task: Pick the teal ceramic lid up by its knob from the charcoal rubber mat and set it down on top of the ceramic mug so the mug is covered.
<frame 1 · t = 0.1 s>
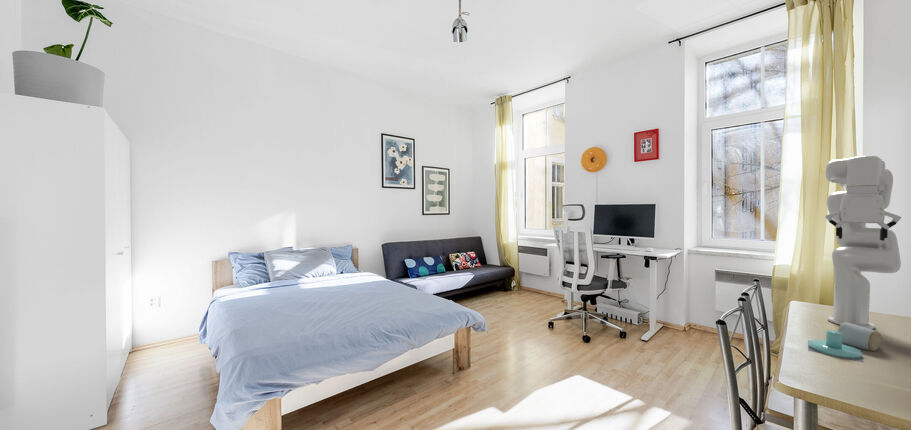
hand: (860, 239, 121), 37 cm above the table, tool pointing down, fingers open, 9 cm apart
mat: (833, 351, 114), on the table
ceramic mug: (859, 347, 118), on the table
lid: (833, 350, 114), resting on mat
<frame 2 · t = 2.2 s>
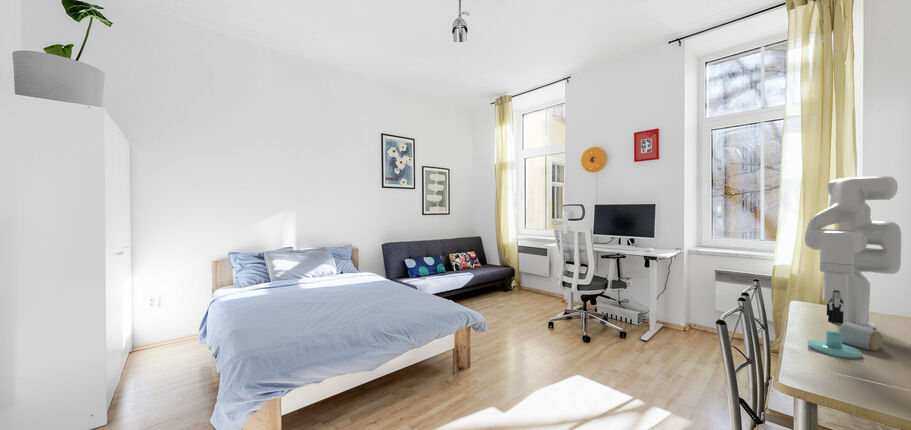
hand: (834, 319, 113), 11 cm above the table, tool pointing down, fingers open, 9 cm apart
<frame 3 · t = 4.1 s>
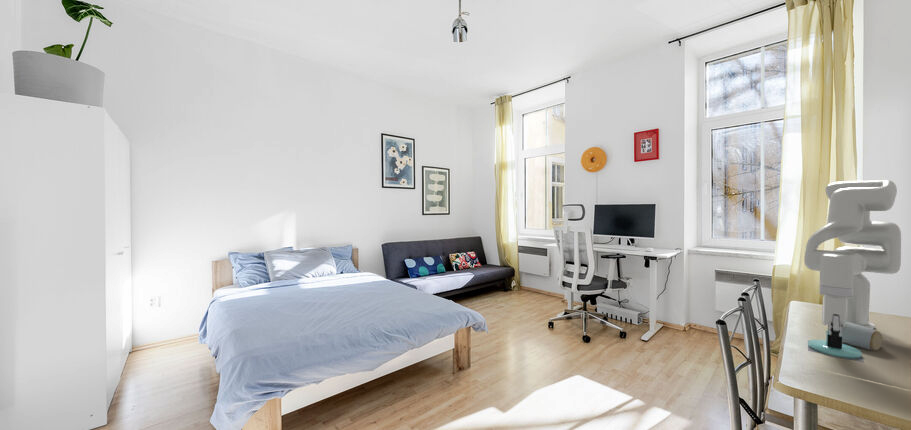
hand: (834, 345, 114), 2 cm above the table, tool pointing down, fingers closed on lid, 3 cm apart
lid: (833, 350, 114), resting on mat, touching gripper
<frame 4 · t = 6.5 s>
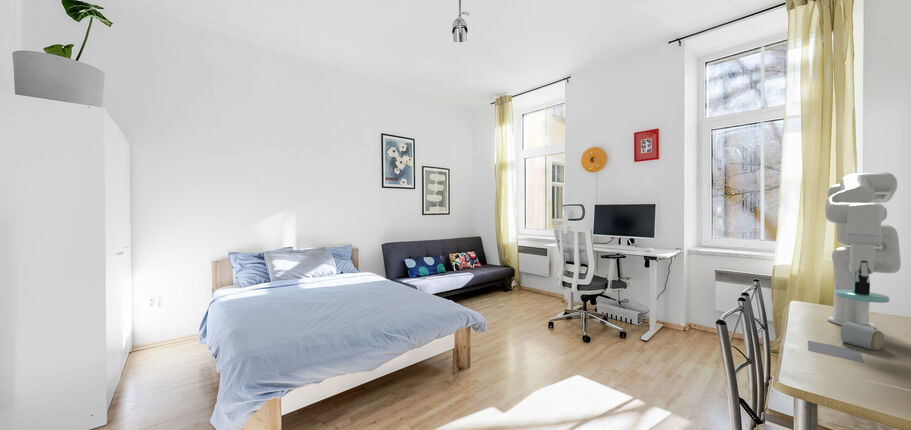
hand: (861, 292, 117), 19 cm above the table, tool pointing down, fingers closed on lid, 3 cm apart
lid: (861, 297, 117), point 17 cm above the table, touching gripper
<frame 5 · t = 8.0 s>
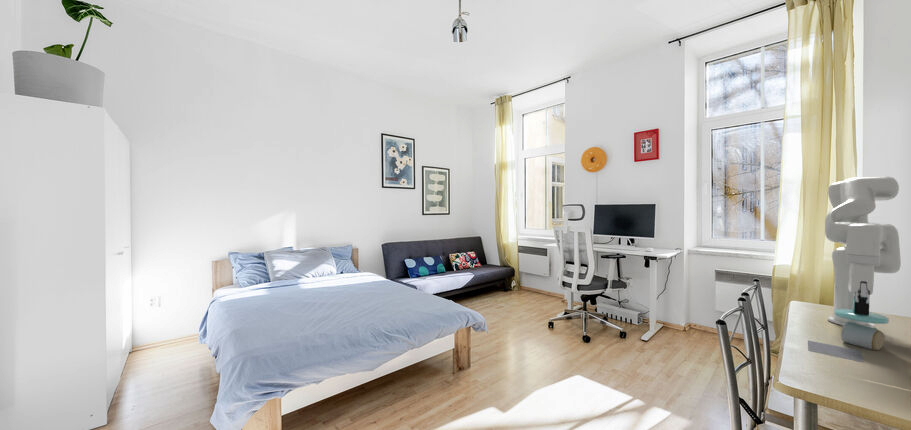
hand: (860, 312, 117), 12 cm above the table, tool pointing down, fingers closed on lid, 3 cm apart
lid: (860, 317, 117), point 10 cm above the table, touching gripper
when the fingers open (10 cm above the table, at t = 9.1 s): lid moves 1 cm, resting on ceramic mug.
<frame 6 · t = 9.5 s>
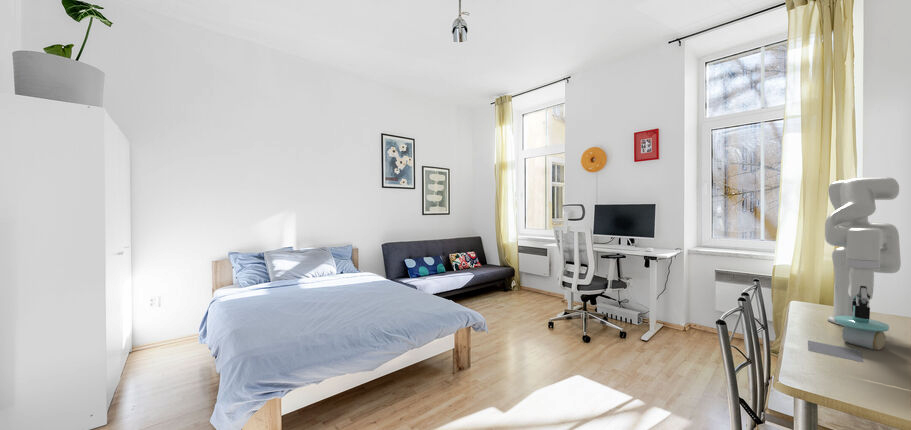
hand: (860, 315, 117), 11 cm above the table, tool pointing down, fingers open, 7 cm apart
ceramic mug: (864, 346, 119), on the table, touching lid
lid: (860, 324, 118), point 8 cm above the table, touching ceramic mug
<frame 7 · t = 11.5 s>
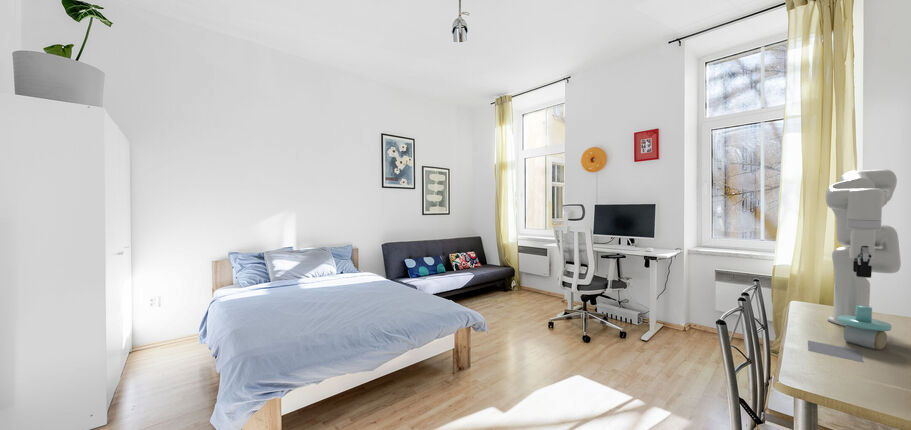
hand: (861, 274, 117), 25 cm above the table, tool pointing down, fingers open, 9 cm apart
lid: (863, 324, 118), point 8 cm above the table, touching ceramic mug
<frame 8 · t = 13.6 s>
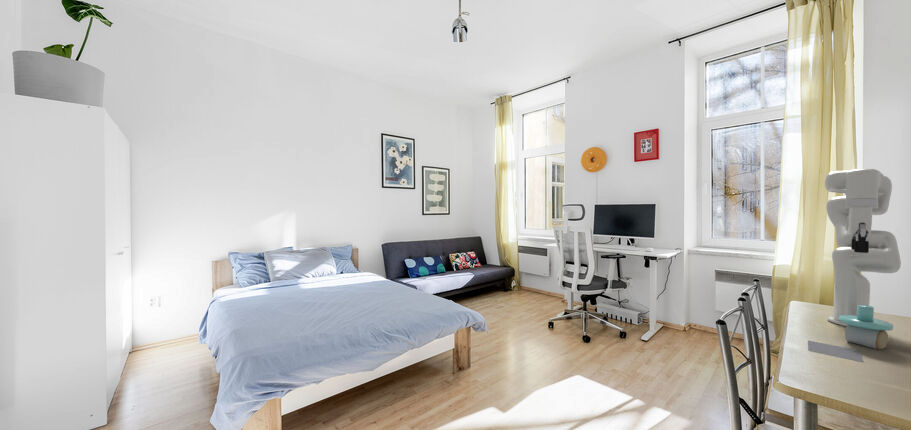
hand: (859, 251, 123), 32 cm above the table, tool pointing down, fingers open, 9 cm apart
lid: (864, 324, 118), point 8 cm above the table, touching ceramic mug
at the end: lid 1.5 cm off-centre on the ceramic mug, point 7.9 cm above the ceramic mug's base; lid tilted 0°; the gripper is holding nothing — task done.
